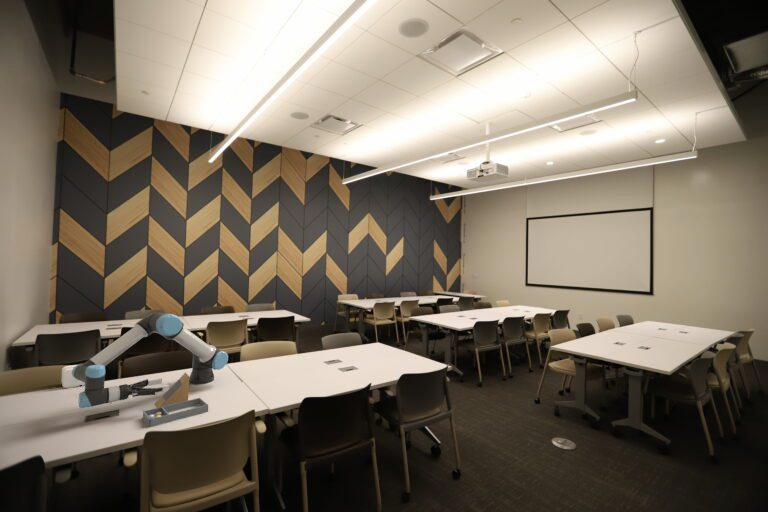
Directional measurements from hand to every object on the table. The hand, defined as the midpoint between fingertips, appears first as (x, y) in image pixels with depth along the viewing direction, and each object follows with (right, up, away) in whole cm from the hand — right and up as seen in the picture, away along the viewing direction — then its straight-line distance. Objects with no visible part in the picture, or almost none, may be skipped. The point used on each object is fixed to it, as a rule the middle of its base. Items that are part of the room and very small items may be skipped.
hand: (165, 384), depth 198 cm
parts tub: (+13, -12, -12) cm, 21 cm away
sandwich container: (+2, -12, +3) cm, 12 cm away
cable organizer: (-71, -10, +25) cm, 76 cm away
